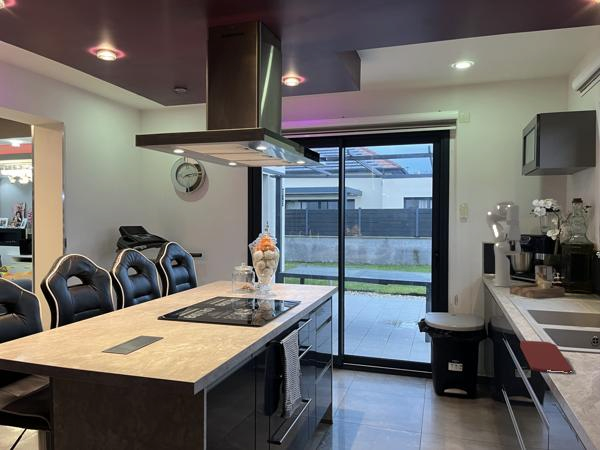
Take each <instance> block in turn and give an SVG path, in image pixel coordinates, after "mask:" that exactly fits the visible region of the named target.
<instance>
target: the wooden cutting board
mask: <svg viewBox="0 0 600 450" xmlns="http://www.w3.org/2000/svg"><path fill="white" fill-rule="evenodd" d="M509 294H510V295H514V296H519V297H523V298H527V297H528V298H529V299H532V298H533V299H540V298H541V299H543V298H552V297H554V296H555V297H563V296H564V297H565V296H566V295H565V287H563V286H557V285H553V286H550V288H539V287H538V284H535V283H533V284H521V285H519V284H518V285H512V286H510V287H509Z"/></svg>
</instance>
